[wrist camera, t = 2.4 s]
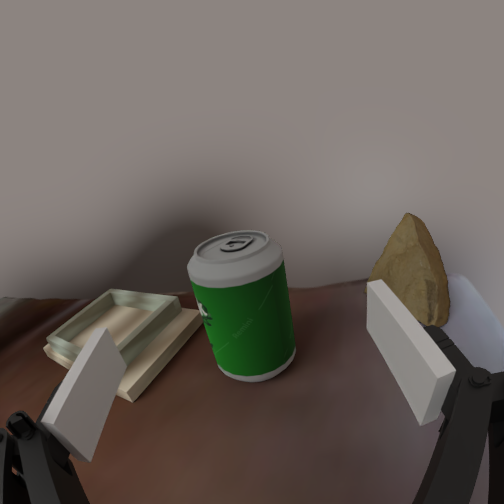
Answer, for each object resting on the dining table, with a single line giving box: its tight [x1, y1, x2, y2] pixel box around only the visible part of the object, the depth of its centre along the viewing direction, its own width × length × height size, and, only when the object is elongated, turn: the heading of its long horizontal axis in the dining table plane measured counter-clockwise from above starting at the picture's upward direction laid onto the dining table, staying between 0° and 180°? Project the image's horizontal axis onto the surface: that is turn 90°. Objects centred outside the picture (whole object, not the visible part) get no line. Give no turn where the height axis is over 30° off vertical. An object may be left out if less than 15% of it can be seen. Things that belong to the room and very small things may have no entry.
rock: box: [364, 213, 450, 327], centre depth 28 cm, size 11×9×10 cm
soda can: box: [187, 230, 296, 382], centre depth 25 cm, size 8×8×12 cm
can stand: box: [43, 289, 203, 402], centre depth 33 cm, size 18×14×4 cm
